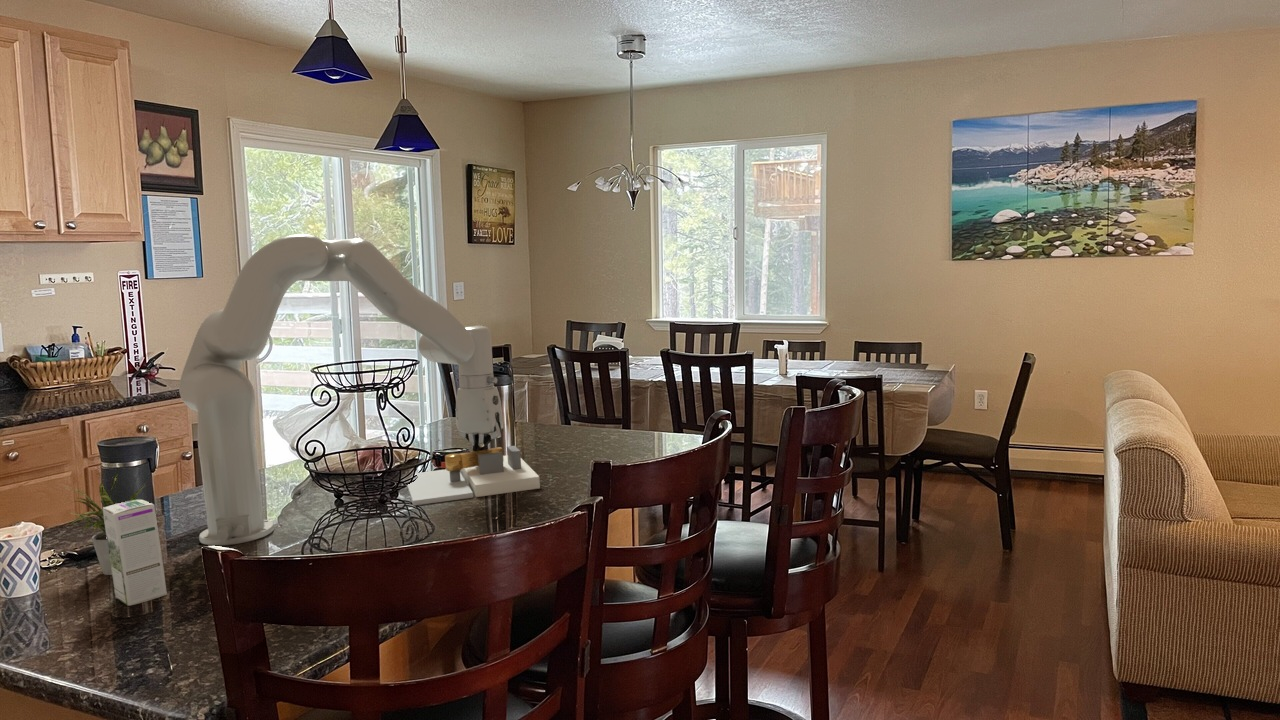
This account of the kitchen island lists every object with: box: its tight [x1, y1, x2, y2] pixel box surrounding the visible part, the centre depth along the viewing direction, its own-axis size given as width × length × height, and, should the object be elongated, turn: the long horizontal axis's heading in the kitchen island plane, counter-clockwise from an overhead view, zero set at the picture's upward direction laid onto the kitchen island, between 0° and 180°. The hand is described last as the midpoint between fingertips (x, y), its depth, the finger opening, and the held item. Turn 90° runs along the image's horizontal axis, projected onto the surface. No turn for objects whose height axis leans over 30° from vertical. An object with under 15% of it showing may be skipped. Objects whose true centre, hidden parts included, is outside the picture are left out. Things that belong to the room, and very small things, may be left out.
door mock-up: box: [406, 445, 541, 506], centre depth 192 cm, size 24×26×6 cm
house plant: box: [62, 473, 149, 576], centre depth 147 cm, size 14×14×16 cm
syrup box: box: [102, 498, 168, 606], centre depth 134 cm, size 6×6×14 cm
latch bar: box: [444, 446, 504, 471], centre depth 194 cm, size 13×4×3 cm, turn 120°
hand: (481, 463), depth 198 cm, fingers closed
